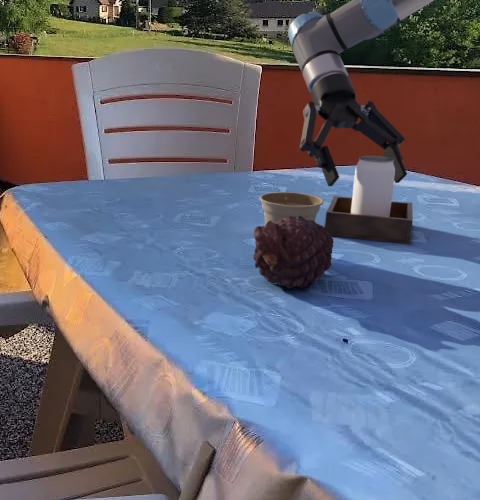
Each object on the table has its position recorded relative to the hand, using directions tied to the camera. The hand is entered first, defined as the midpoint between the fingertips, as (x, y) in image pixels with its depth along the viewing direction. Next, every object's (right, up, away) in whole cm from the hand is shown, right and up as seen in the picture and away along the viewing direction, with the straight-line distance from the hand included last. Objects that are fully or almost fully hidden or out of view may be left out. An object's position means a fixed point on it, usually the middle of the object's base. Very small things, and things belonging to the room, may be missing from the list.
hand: (368, 180), depth 123 cm
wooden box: (0, -9, +1) cm, 9 cm away
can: (0, -8, +1) cm, 8 cm away
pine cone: (-19, -17, -26) cm, 36 cm away
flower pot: (-17, -13, -13) cm, 25 cm away
